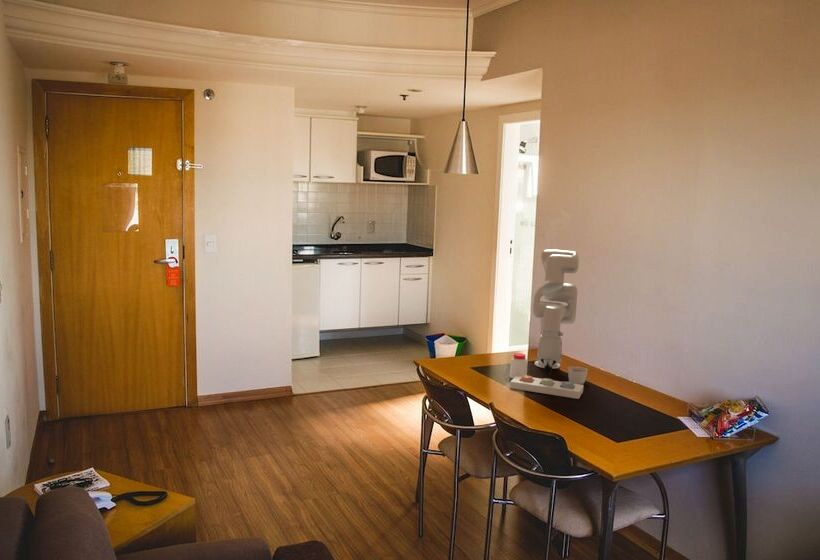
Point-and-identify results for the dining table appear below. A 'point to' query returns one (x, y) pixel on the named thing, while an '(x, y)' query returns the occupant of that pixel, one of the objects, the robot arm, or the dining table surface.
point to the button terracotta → (527, 378)
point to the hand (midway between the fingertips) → (547, 374)
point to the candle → (577, 374)
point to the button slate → (567, 385)
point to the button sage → (547, 382)
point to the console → (547, 387)
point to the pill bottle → (518, 365)
